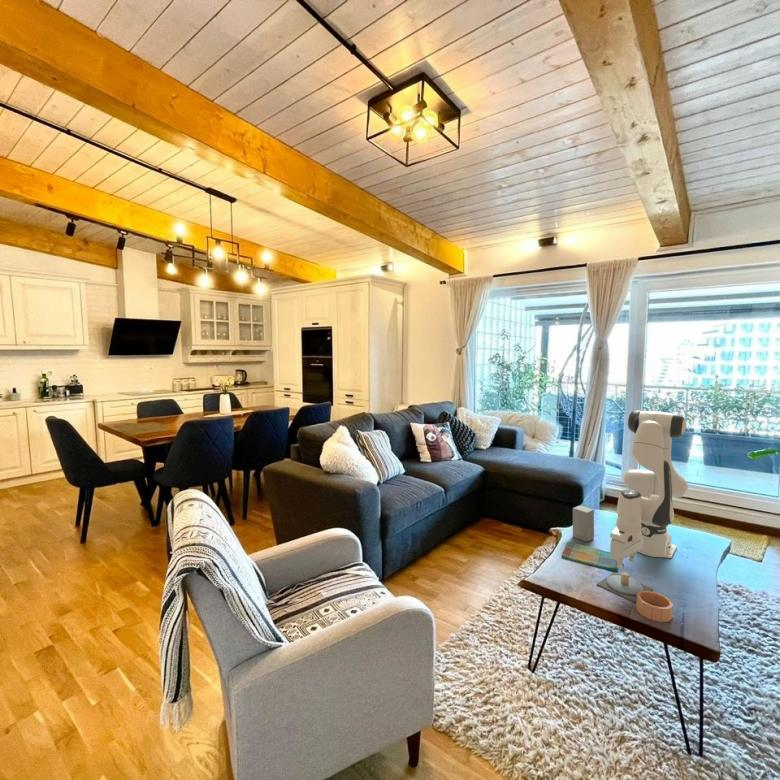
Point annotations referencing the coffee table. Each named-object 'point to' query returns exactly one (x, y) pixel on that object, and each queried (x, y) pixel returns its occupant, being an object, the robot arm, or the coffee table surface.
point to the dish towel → (589, 556)
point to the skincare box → (583, 523)
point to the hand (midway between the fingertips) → (626, 564)
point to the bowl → (654, 606)
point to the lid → (624, 584)
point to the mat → (629, 597)
